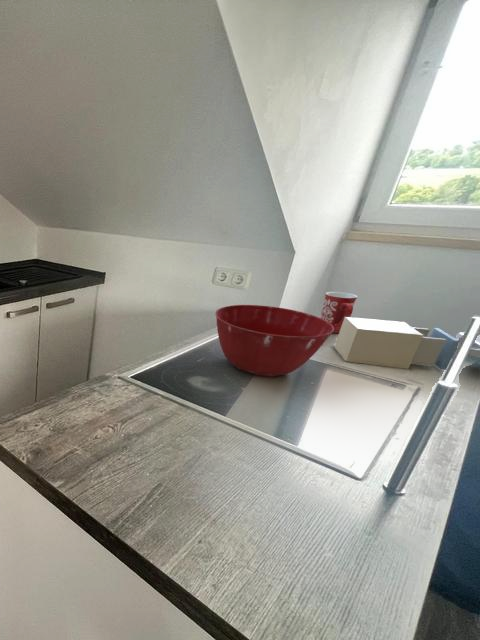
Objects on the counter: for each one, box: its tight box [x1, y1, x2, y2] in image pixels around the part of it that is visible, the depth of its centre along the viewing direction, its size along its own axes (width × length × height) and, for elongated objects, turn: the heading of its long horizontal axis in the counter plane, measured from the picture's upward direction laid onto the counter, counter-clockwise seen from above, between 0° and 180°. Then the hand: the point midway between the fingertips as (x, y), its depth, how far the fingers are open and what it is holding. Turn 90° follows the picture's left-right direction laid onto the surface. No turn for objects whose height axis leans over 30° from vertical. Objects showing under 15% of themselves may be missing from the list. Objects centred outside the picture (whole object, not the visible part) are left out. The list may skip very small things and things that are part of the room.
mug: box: [319, 291, 359, 334], centre depth 140 cm, size 13×9×14 cm
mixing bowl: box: [214, 304, 334, 377], centre depth 114 cm, size 28×28×16 cm
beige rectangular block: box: [334, 316, 423, 370], centre depth 119 cm, size 15×13×11 cm
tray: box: [410, 326, 458, 371], centre depth 115 cm, size 18×11×9 cm, turn 65°
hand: (451, 345), depth 112 cm, fingers closed on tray, 5 cm apart
